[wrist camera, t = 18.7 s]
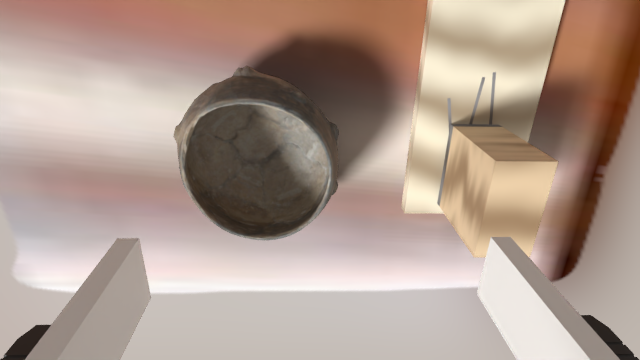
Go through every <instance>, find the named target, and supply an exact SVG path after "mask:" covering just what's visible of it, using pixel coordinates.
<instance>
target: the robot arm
mask: <svg viewBox="0 0 640 360" xmlns="http://www.w3.org/2000/svg"><path fill="white" fill-rule="evenodd" d="M477 295H478V296H479V298H480V300H481V301H482V303H483V305H484V306H485V308H486V310H487V311H488V313H489V314H490V316H491V318H492V319H493V321H494V323H495V324H496V326H497V328H498V329H499V331H500V333H501V334H502V336H503V338H504V339H505V341H506V343H507V344H508V346H509V348H510V349H511V351H512V352H513V354H514V356H515V357H516V359H517V360H639V359H638V358H637V357H634V354H633V353H632V352H631V351H630V350H629V348H628V347H627V346H626V345H623V344H622V341H621V340H620V339H619V338H618V337H617V336H616V335H615V334H614V333H613V332H612V331H611V329H609V327H607V326H606V325H604V324H603V323H601V322H600V321H598V320H597V319H595V318H594V317H593V316H591V315H580V314H579V313H578V312H577V311H576V310H575V309H574V308H573V306H572V305H571V304H570V303H569V302H568V301H567V300H566V299H565V298H564V296H563V295H562V294H561V293H560V292H559V291H558V290H557V288H556V287H555V286H554V285H553V284H552V283H551V282H550V281H549V280H548V278H547V277H546V276H545V275H544V274H543V273H542V272H541V271H540V269H539V268H538V267H537V266H536V265H535V264H534V263H533V262H532V260H531V259H530V258H529V257H528V256H527V255H526V254H525V253H524V252H523V250H522V249H521V248H520V247H519V246H518V245H517V244H516V243H515V241H514V240H513V239H512V238H511V237H491V239H490V243H489V247H488V251H487V255H486V259H485V263H484V267H483V271H482V275H481V279H480V283H479V287H478V291H477ZM150 299H151V296H150V291H149V286H148V281H147V276H146V270H145V265H144V260H143V255H142V250H141V245H140V240H139V238H131V239H117V240H116V241H115V242H114V244H113V245H112V246H111V248H110V249H109V250H108V252H107V253H106V254H105V256H104V257H103V258H102V259H101V261H100V262H99V263H98V265H97V266H96V267H95V269H94V270H93V271H92V273H91V274H90V275H89V276H88V278H87V279H86V280H85V282H84V283H83V284H82V286H81V287H80V288H79V290H78V291H77V292H76V293H75V295H74V296H73V297H72V299H71V300H70V301H69V303H68V304H67V305H66V306H65V308H64V309H63V310H62V312H61V313H60V314H59V316H58V317H57V318H56V320H55V321H54V322H53V324H52V325H36V326H35V327H33V328H32V329H31V330H30V331H28V332H27V333H25V334H24V335H23V336H21V337H20V338H19V339H17V340H16V342H15V343H14V344H13V345H12V346H11V348H10V349H9V350H8V351H7V353H6V354H5V355H4V358H3V359H1V360H120V358H121V357H122V355H123V353H124V351H125V349H126V346H127V345H128V343H129V341H130V339H131V337H132V335H133V333H134V331H135V328H136V327H137V324H138V322H139V320H140V319H141V317H142V314H143V313H144V311H145V309H146V307H147V305H148V302H149V300H150Z"/></svg>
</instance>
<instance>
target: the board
mask: <svg viewBox="0 0 640 360" xmlns="http://www.w3.org/2000/svg"><path fill="white" fill-rule="evenodd" d="M564 4H565V0H428V4H427V12H426V20H425V27H424V35H423V43H422V51H421V58H420V66H419V74H418V82H417V89H416V97H415V105H414V113H413V121H412V128H411V136H410V144H409V152H408V159H407V167H406V175H405V183H404V191H403V198H402V206H401V207H402V209H403V211H404V213H444V212H443V211H442V209H441V208H440V207H439V205H438V204H437V201H438V195H439V190H440V184H441V178H442V172H443V166H444V160H445V154H446V148H447V142H448V136H449V130H450V124H491V125H500V126H502V127H504V128H505V129H507V130H508V131H510V132H512V133H513V134H515V135H517V136H518V137H520V138H521V139H523V140H525V141H526V142H528V141H529V137H530V133H531V129H532V126H533V122H534V118H535V114H536V110H537V106H538V103H539V99H540V95H541V91H542V87H543V84H544V80H545V76H546V72H547V68H548V65H549V61H550V57H551V53H552V49H553V46H554V42H555V38H556V34H557V30H558V26H559V23H560V19H561V15H562V11H563V7H564Z"/></svg>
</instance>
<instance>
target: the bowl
mask: <svg viewBox="0 0 640 360" xmlns="http://www.w3.org/2000/svg"><path fill="white" fill-rule="evenodd" d="M338 135H339V131H338V129H337V126H336V125H335V124H333V123H331V122H329V121H327V119H326V118H325V116H324V115H323V113H322V112H321V110H320V109H319V108H318V107H317V106H316V105H315V104H314V103H313V102H312V101H311V100H310V99H309V98H308V97H307V96H306V95H304V94H303V93H302V92H301V91H300V90H299V89H298V88H297V87H295V86H293V85H292V84H290V83H289V82H287V81H285V80H282V79H280V78H278V77H274V76H270V75H266V74H262V73H259V72H257V71H256V70H254V69H252V68H250V67H248V66H246V67H244V68H238V69H237V70H236V72H235V73H234V75H233V76H232V77H231V78H228V79H226V80H224V81H222V82H219V83H215V84H213V85H211V86H210V87H209V88H208V89H207V90H206V91H204V92H203V93H202V94H201V95H199V96H198V97H197V98H196V99H195V100H194V102H193V103H192V104H191V106H190V107H189V109H188V110H187V112H186V114H185V115H184V117H183V119H182V121H181V122H180V124H179V125H178V126H176V128H175V132H174V138H175V140H176V142H177V147H178V159H179V169H180V174H181V178H182V181H183V184H184V187H185V188H186V190H187V192H188V194H189V196H190V198H191V199H192V200H193V202H194V203H195V204H196V206H197V207H198V208H199V210H200V211H201V212H202V213H203V214H204V215H205V216H206V217H207V218H208V219H209V220H210V221H211V222H213V223H214V224H216V225H217V226H218V227H220V228H221V229H223V230H225V231H227V232H229V233H231V234H234V235H237V236H240V237H244V238H249V239H255V240H275V239H280V238H284V237H287V236H290V235H292V234H294V233H296V232H298V231H300V230H301V229H303V228H304V227H305V226H307V225H308V224H309V223H311V222H312V221H313V220H314V219H315V218H316V217H317V216H318V215H319V214H320V212H321V211H322V210H323V208H324V207H325V206H326V204H327V203H328V201H329V199H330V197H331V195H333V194H334V193H335V192H336V190H337V187H338V183H337V180H336V179H337V173H338V149H337V143H336V140H337V137H338Z"/></svg>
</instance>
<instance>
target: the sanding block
mask: <svg viewBox="0 0 640 360" xmlns="http://www.w3.org/2000/svg"><path fill="white" fill-rule="evenodd" d="M557 165H558V161H557V160H555V159H554V158H552V157H550V156H549V155H547V154H545V153H544V152H542V151H541V150H539V149H537V148H536V147H534V146H533V145H531V144H529V143H528V142H526V141H525V140H523V139H521V138H520V137H518V136H517V135H515V134H513V133H512V132H510V131H508V130H507V129H505V128H504V127H502V126H500V125H491V124H450V130H449V136H448V142H447V148H446V154H445V160H444V166H443V172H442V178H441V184H440V190H439V195H438V201H437V204H438V205H439V207H440V208H441V209H442V211H443V212H444V214H445V215H446V217H447V218H448V220H449V221H450V223H451V224H452V226H453V227H454V229H455V230H456V232H457V233H458V234H459V236H460V237H461V239H462V240H463V242H464V243H465V245H466V246H467V248H468V249H469V251H470V252H471V254H472V255H473V257H486V255H487V251H488V247H489V243H490V239H491V237H511V238H512V239H513V240H514V241H515V243H516V244H517V245H518V246H519V247H520V248H521V249H522V250H523V252H524V253H525V254H526V255H527V256H528V257H530V255H531V251H532V248H533V245H534V242H535V238H536V235H537V232H538V228H539V225H540V222H541V218H542V215H543V212H544V208H545V205H546V202H547V198H548V195H549V192H550V188H551V185H552V182H553V178H554V175H555V172H556V168H557Z"/></svg>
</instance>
